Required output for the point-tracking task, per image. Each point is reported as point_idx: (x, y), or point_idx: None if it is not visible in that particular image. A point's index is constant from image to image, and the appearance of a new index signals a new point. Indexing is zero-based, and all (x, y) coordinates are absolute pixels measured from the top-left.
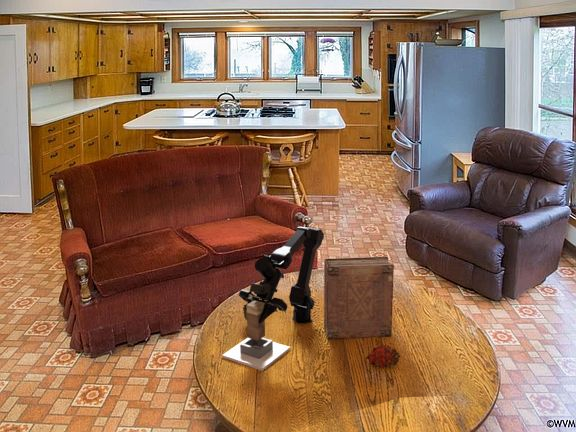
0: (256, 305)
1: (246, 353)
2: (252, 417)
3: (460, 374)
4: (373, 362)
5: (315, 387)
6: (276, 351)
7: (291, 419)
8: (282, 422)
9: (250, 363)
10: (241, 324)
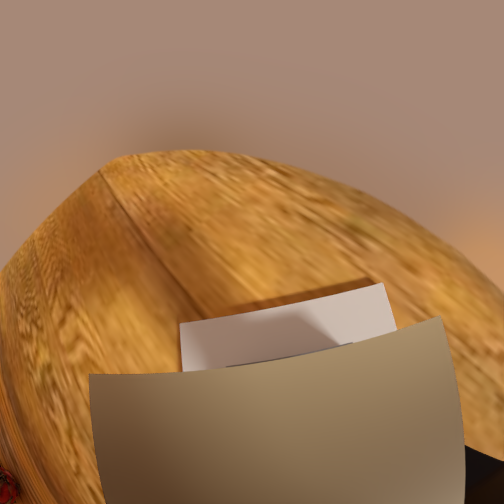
0: (181, 487)
1: None
2: (109, 179)
3: None
4: (3, 471)
5: (42, 343)
6: None
7: (54, 225)
8: (64, 209)
9: (242, 318)
10: None
